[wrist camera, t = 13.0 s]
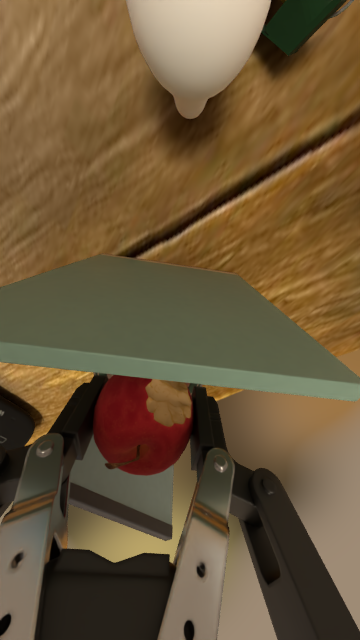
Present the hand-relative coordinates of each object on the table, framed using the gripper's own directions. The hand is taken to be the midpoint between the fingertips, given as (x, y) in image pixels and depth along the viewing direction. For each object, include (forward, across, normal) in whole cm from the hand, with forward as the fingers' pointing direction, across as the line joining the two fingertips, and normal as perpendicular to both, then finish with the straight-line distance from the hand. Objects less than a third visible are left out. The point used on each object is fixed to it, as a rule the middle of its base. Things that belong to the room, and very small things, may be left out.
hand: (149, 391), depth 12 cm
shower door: (+11, +1, +10) cm, 15 cm away
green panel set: (+12, 0, 0) cm, 12 cm away
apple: (+2, 0, 0) cm, 2 cm away
